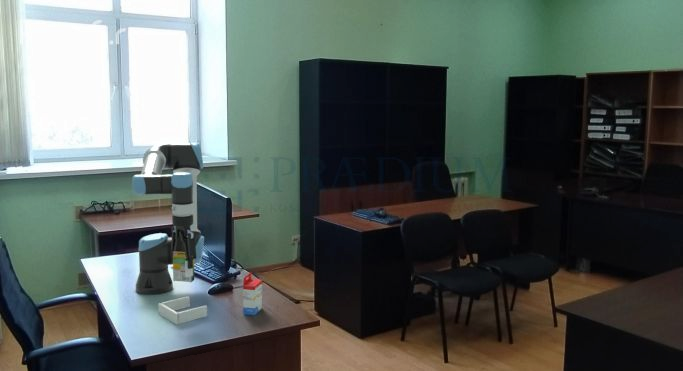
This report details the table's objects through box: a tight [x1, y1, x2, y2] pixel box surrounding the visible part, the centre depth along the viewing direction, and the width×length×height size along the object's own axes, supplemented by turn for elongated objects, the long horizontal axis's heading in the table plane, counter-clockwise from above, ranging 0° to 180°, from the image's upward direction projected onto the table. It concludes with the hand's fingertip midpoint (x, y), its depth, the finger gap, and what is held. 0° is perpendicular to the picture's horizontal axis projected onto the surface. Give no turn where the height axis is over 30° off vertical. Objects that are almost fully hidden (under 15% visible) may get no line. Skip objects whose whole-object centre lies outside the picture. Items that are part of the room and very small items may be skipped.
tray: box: [157, 295, 208, 325], centre depth 220 cm, size 14×12×4 cm
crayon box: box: [172, 251, 195, 283], centre depth 218 cm, size 7×3×12 cm, turn 80°
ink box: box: [242, 271, 263, 316], centre depth 224 cm, size 8×5×15 cm, turn 168°
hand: (183, 273), depth 218 cm, fingers closed on crayon box, 7 cm apart
